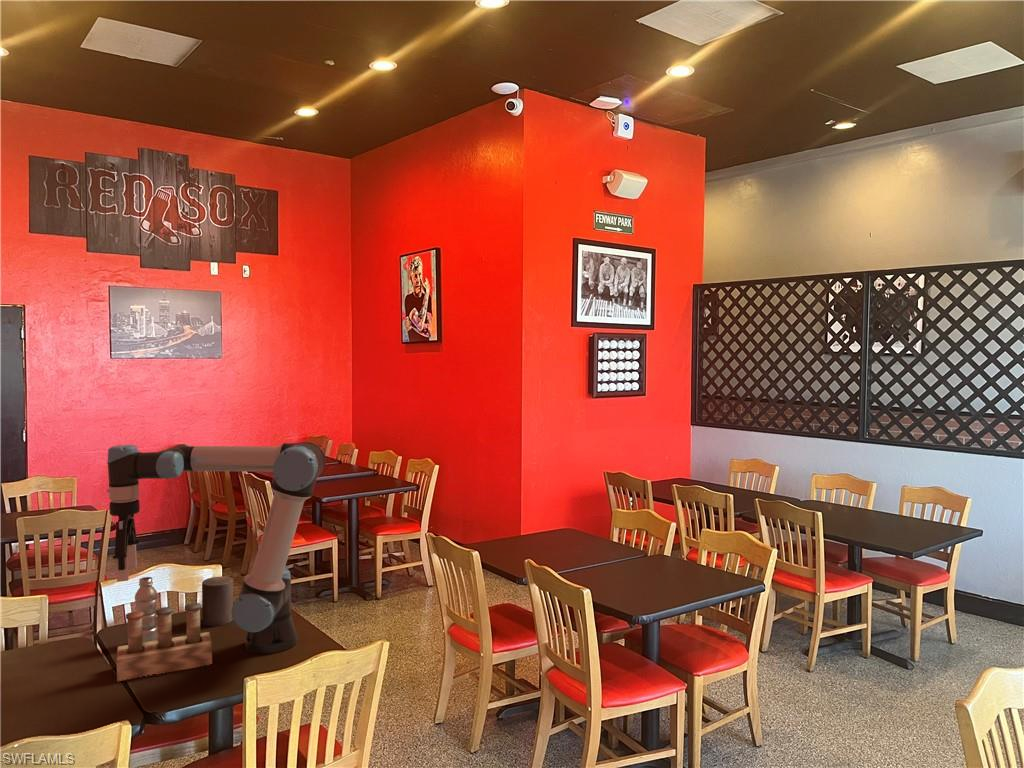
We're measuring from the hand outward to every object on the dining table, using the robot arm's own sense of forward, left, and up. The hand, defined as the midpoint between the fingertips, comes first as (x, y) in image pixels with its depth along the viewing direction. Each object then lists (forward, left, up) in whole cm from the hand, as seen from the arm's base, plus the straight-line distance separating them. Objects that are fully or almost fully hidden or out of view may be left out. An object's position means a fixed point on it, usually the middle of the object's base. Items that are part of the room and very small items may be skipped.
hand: (127, 573), depth 207 cm
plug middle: (-10, -2, -21) cm, 23 cm away
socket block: (-10, -2, -27) cm, 28 cm away
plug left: (-16, -7, -21) cm, 27 cm away
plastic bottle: (+7, -15, -27) cm, 31 cm away
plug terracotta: (-5, +3, -21) cm, 22 cm away
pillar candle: (-3, -36, -27) cm, 45 cm away
